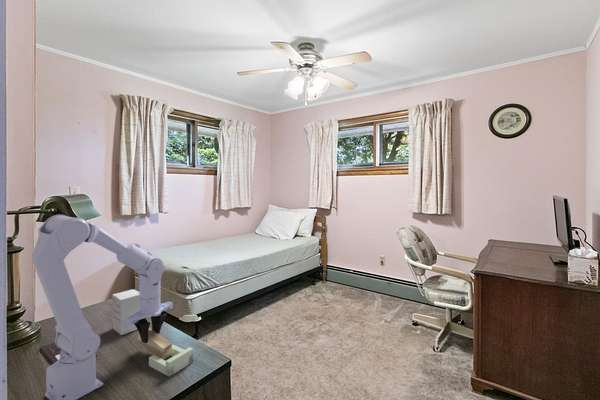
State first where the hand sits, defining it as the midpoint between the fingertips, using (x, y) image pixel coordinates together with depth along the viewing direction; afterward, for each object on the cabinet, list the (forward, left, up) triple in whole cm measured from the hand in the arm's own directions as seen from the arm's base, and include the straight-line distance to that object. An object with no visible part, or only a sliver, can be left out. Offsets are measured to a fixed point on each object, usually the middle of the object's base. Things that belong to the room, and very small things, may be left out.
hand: (150, 339), depth 91 cm
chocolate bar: (-13, +21, -5) cm, 25 cm away
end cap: (0, -10, -4) cm, 11 cm away
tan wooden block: (0, -2, -2) cm, 3 cm away
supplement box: (+5, +21, -5) cm, 22 cm away
